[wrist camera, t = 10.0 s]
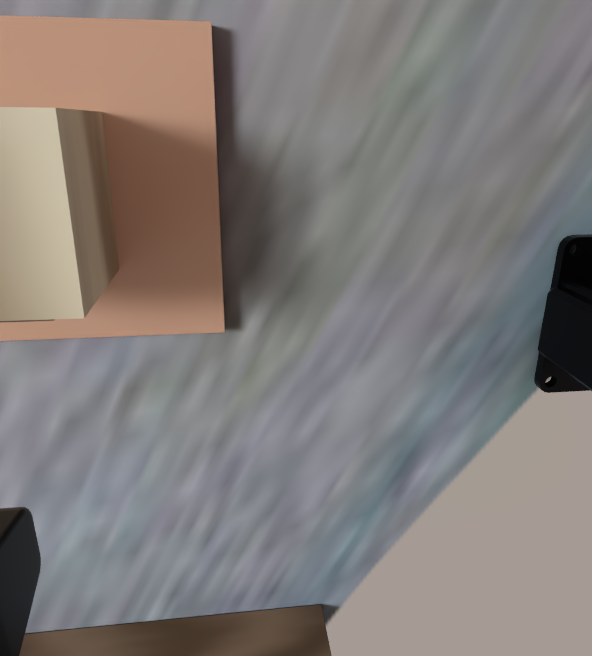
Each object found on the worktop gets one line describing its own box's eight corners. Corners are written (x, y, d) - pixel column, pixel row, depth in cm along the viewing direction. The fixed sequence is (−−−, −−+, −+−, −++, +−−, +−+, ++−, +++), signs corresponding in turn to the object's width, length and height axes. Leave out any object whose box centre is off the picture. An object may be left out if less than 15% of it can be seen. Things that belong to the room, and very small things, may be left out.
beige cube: (101, 111, 17) (55, 107, 12) (120, 277, 19) (86, 329, 14) (-72, 109, 16) (-192, 104, 11) (-35, 281, 18) (-125, 336, 13)
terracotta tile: (211, 25, 17) (211, 21, 16) (224, 326, 20) (224, 332, 20) (-216, 12, 15) (-232, 9, 15) (-122, 339, 19) (-132, 345, 18)
